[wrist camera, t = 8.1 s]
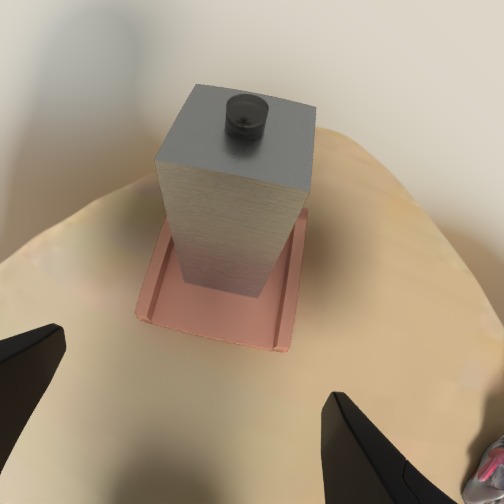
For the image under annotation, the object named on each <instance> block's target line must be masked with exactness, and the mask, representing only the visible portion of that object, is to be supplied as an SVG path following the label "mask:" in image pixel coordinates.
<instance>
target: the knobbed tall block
mask: <svg viewBox="0 0 504 504" xmlns="http://www.w3.org/2000/svg"><path fill="white" fill-rule="evenodd" d="M315 120H316V107H314V106H310V105H306V104H302V103H298V102H294V101H290V100H286V99H281V98H277V97H272V96H267V95H262V94H257V93H252V92H247V91H241V90H235V89H229V88H223V87H215V86H209V85H201V84H196V85H195V87H194V88H193V90H192V92H191V93H190V95H189V97H188V99H187V100H186V102H185V104H184V106H183V107H182V109H181V111H180V113H179V114H178V116H177V118H176V120H175V122H174V123H173V125H172V127H171V129H170V131H169V133H168V135H167V137H166V139H165V140H164V142H163V144H162V146H161V148H160V150H159V152H158V154H157V156H156V158H155V165H156V170H157V175H158V180H159V184H160V189H161V193H162V197H163V202H164V206H165V210H166V214H167V219H168V223H169V227H170V231H171V235H172V239H173V242H174V246H175V250H176V254H177V258H178V261H179V265H180V269H181V272H182V276H183V279H184V282H185V283H189V284H193V285H198V286H202V287H206V288H211V289H215V290H220V291H224V292H229V293H233V294H238V295H243V296H247V297H252V298H257V299H258V298H259V296H260V294H261V292H262V290H263V288H264V286H265V284H266V282H267V280H268V278H269V276H270V274H271V272H272V270H273V267H274V265H275V263H276V261H277V259H278V257H279V255H280V253H281V251H282V249H283V247H284V245H285V243H286V241H287V239H288V237H289V235H290V233H291V230H292V228H293V226H294V224H295V222H296V220H297V218H298V216H299V214H300V212H301V210H302V207H303V205H304V203H305V201H306V199H307V197H308V195H309V193H310V185H311V174H312V162H313V149H314V135H315Z"/></svg>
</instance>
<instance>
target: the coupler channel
mask: <svg viewBox="0 0 504 504" xmlns="http://www.w3.org/2000/svg"><path fill="white" fill-rule="evenodd" d="M307 214H308V209H306V208H302V210H301V212H300V214H299V216H298V218H297V220H296V222H295V224H294V226H293V228H292V230H291V233H290V235H289V237H288V239H287V241H286V243H285V245H284V247H283V249H282V251H281V253H280V255H279V257H278V259H277V261H276V263H275V265H274V267H273V270H272V272H271V274H270V276H269V278H268V280H267V282H266V284H265V286H264V288H263V290H262V292H261V294H260V296H259V298H258V299H257V298H252V297H247V296H243V295H238V294H233V293H229V292H224V291H220V290H215V289H211V288H206V287H202V286H198V285H193V284H189V283H185V282H184V279H183V276H182V272H181V269H180V265H179V261H178V258H177V254H176V250H175V246H174V242H173V239H172V235H171V231H170V227H169V223H168V219H167V215H166V218H165V220H164V223H163V226H162V229H161V232H160V234H159V237H158V240H157V243H156V246H155V249H154V252H153V255H152V258H151V261H150V264H149V267H148V270H147V273H146V277H145V280H144V283H143V286H142V289H141V293H140V296H139V300H138V303H137V306H136V310H135V313H134V314H136V315H137V318H138V319H139V320H140V321H144V322H147V323H151V324H154V325H158V326H162V327H166V328H170V329H174V330H177V331H181V332H186V333H190V334H194V335H198V336H202V337H207V338H211V339H216V340H220V341H225V342H230V343H234V344H239V345H244V346H249V347H255V348H260V349H265V350H271V351H277V352H282V353H285V352H287V351H288V349H290V344H291V338H292V332H293V325H294V318H295V311H296V304H297V297H298V290H299V282H300V274H301V266H302V258H303V250H304V241H305V232H306V223H307Z"/></svg>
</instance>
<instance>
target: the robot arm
mask: <svg viewBox="0 0 504 504" xmlns="http://www.w3.org/2000/svg"><path fill="white" fill-rule="evenodd" d="M65 351H66V341H65V334H64V329H63V327H61V326H59V325H57V324H54V323H52V324H48V325H45V326H42V327H39V328H36V329H33V330H30V331H27V332H24V333H21V334H18V335H15V336H12V337H9V338H6V339H3V340H0V474H1V471H2V470H3V467H4V465H5V463H6V461H7V459H8V457H9V455H10V453H11V451H12V449H13V447H14V446H15V444H16V442H17V440H18V438H19V436H20V434H21V432H22V431H23V429H24V427H25V425H26V423H27V422H28V420H29V418H30V416H31V415H32V413H33V411H34V409H35V408H36V406H37V404H38V403H39V401H40V399H41V398H42V396H43V394H44V393H45V391H46V389H47V388H48V386H49V384H50V382H51V380H52V378H53V376H54V374H55V372H56V370H57V368H58V365H59V363H60V361H61V359H62V357H63V355H64V353H65ZM321 461H322V471H323V481H324V492H325V504H458V503H456V502H455V501H454V500H452V499H451V498H450V497H449V496H447V495H446V494H445V493H444V492H442V491H441V490H440V489H439V488H437V487H436V486H435V485H434V484H432V483H431V482H430V481H429V480H428V479H427V478H426V477H424V476H423V475H422V474H421V473H420V472H419V471H418V470H417V469H416V468H415V467H414V466H413V465H412V464H411V463H410V462H409V461H408V460H406V458H405V457H404V456H403V455H402V454H401V453H400V451H399V450H398V449H397V448H396V447H395V446H394V445H393V444H392V443H391V442H390V441H389V440H388V439H387V438H386V437H385V436H384V435H383V434H382V432H381V431H380V430H379V429H378V428H377V427H376V426H375V425H374V424H373V423H372V422H371V421H370V420H369V419H368V418H367V416H366V415H365V414H364V413H363V412H362V411H361V410H360V409H359V408H358V407H357V406H356V405H355V403H354V402H353V401H352V400H351V399H350V398H349V397H348V396H347V395H346V394H345V393H344V392H335V391H334V392H331V394H330V395H329V397H328V399H327V401H326V403H325V404H324V406H323V408H322V412H321Z"/></svg>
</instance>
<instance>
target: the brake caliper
mask: <svg viewBox="0 0 504 504" xmlns="http://www.w3.org/2000/svg"><path fill="white" fill-rule="evenodd" d="M462 498H463V500H464V503H465V504H504V434H503V435H502V436H501V437H500V438H499V439H498V440H497V441H496V442H494V443H493V444H491V445H490V446H489V447H488V448H487V449H486V451H485V453H484V454H483V455H482V457H481V460H480V465H479V467H478V468H477V470H476V471H475V472H474V474H473V475H472V477H471V478H470V479H469V480H468V481H467V483H466V485H465V487H464V490H463V492H462Z"/></svg>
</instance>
